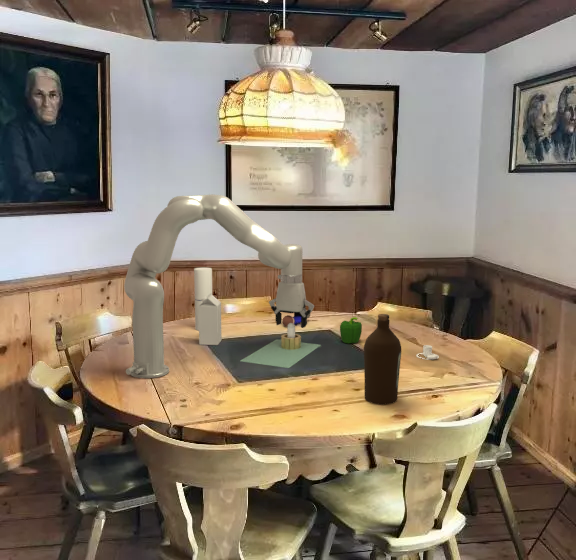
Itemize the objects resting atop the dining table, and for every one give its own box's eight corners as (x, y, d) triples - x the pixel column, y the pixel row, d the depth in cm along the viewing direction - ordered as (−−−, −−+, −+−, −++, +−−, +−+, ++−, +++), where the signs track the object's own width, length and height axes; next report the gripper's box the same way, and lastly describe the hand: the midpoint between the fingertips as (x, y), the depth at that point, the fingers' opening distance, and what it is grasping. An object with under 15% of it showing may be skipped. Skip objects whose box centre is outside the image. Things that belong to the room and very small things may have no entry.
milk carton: (221, 340, 246) (221, 292, 242) (217, 345, 239) (217, 295, 235) (203, 340, 246) (202, 291, 243) (199, 345, 240) (198, 295, 236)
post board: (288, 372, 209) (288, 341, 207) (239, 365, 216) (239, 335, 214) (321, 348, 236) (321, 321, 234) (276, 343, 243) (276, 316, 241)
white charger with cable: (439, 362, 222) (439, 350, 221) (415, 360, 224) (416, 349, 223) (438, 355, 230) (439, 344, 230) (416, 353, 232) (416, 342, 231)
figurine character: (297, 323, 280) (277, 326, 267) (298, 305, 279) (279, 308, 266) (310, 325, 276) (291, 328, 263) (311, 307, 275) (292, 310, 263)
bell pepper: (334, 341, 245) (335, 316, 243) (349, 338, 250) (349, 313, 249) (350, 346, 239) (351, 320, 237) (365, 342, 244) (366, 317, 242)
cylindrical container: (193, 327, 265) (191, 268, 260) (209, 326, 268) (208, 267, 263) (198, 331, 258) (197, 270, 254) (215, 330, 261) (214, 269, 257)
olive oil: (365, 406, 180) (368, 319, 175) (359, 392, 190) (361, 310, 186) (403, 405, 180) (406, 319, 176) (394, 392, 191) (398, 310, 186)
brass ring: (296, 350, 228) (296, 339, 227) (278, 348, 231) (278, 337, 230) (303, 345, 234) (303, 334, 234) (286, 343, 237) (286, 332, 236)
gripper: (265, 278, 228) (265, 325, 231) (310, 282, 221) (309, 330, 224) (273, 275, 235) (273, 321, 238) (317, 279, 228) (317, 326, 231)
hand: (291, 325), depth 231 cm, fingers open, 9 cm apart
